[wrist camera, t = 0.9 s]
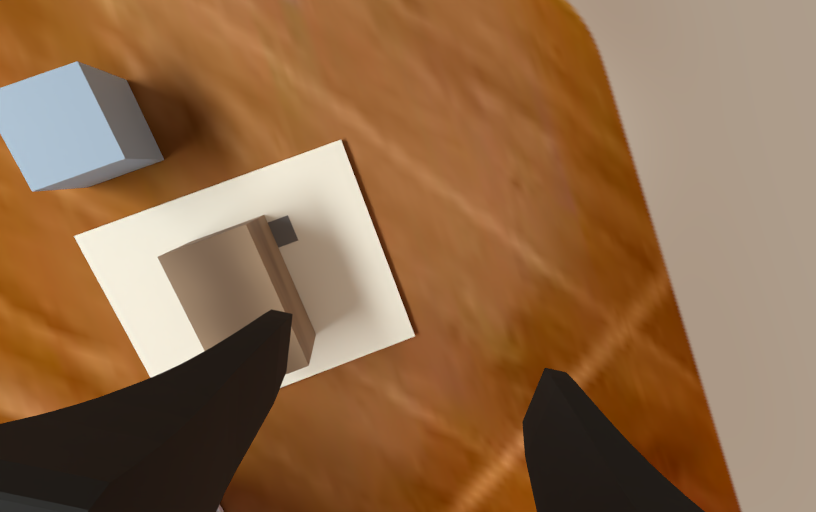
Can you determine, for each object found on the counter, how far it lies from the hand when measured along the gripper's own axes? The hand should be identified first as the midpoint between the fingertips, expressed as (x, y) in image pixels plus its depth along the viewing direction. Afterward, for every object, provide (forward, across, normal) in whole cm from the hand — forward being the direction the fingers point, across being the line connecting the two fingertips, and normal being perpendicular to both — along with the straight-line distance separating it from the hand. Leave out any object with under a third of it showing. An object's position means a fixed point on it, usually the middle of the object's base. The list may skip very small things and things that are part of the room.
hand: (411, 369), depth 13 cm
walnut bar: (+13, +9, +7) cm, 17 cm away
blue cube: (+14, +18, 0) cm, 23 cm away
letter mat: (+13, +9, +7) cm, 17 cm away
